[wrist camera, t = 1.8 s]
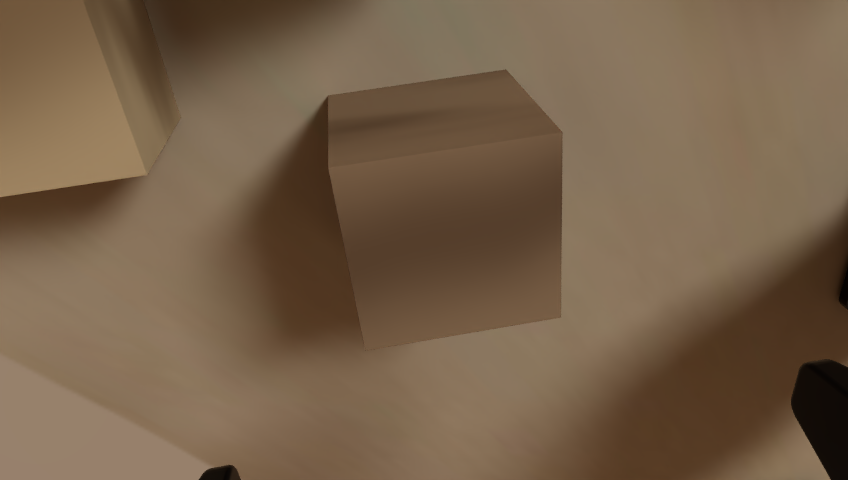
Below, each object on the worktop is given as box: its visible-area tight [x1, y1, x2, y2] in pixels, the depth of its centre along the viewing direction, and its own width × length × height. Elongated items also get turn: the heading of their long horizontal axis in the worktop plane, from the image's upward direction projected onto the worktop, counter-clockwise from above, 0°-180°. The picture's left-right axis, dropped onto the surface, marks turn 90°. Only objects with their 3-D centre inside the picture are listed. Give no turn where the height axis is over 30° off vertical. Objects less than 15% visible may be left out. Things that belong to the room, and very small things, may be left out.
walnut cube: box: [328, 70, 562, 351], centre depth 17 cm, size 5×5×5 cm
